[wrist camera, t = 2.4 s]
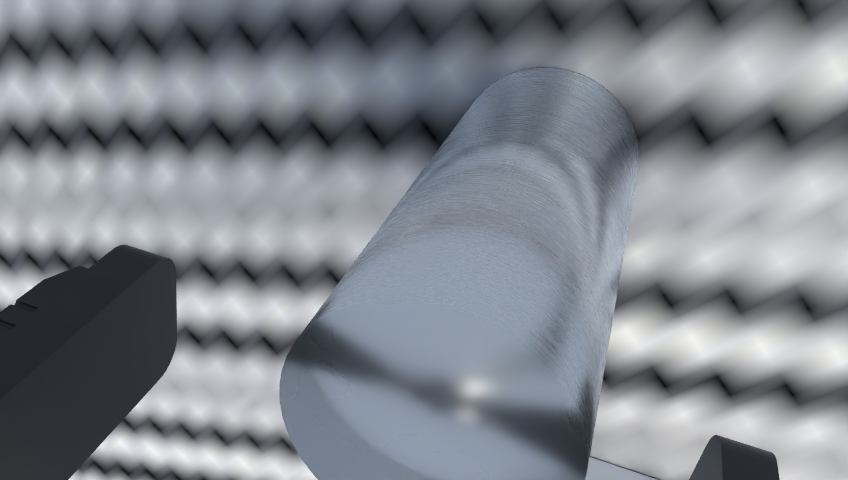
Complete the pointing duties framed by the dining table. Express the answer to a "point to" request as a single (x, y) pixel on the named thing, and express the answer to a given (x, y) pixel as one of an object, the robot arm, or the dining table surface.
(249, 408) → the dining table surface
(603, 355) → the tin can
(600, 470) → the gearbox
